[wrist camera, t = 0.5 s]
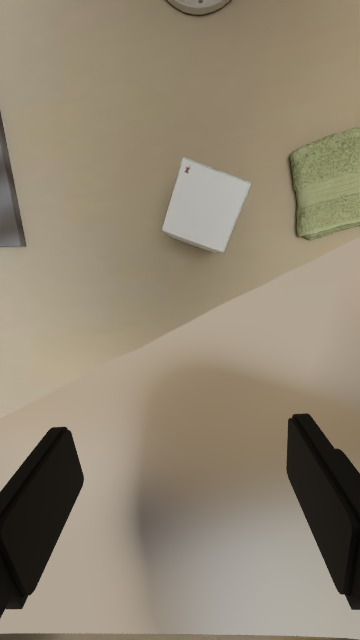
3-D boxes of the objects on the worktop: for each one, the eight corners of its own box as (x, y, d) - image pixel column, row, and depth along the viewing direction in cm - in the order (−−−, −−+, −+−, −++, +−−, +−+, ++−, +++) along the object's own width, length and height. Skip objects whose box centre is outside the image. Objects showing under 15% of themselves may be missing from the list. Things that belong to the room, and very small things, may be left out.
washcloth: (416, 213, 34) (438, 209, 31) (294, 243, 36) (304, 243, 33) (418, 109, 31) (443, 93, 28) (283, 149, 33) (293, 138, 30)
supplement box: (168, 237, 36) (158, 230, 24) (185, 187, 34) (182, 152, 22) (212, 254, 37) (223, 255, 25) (231, 205, 35) (253, 180, 23)
